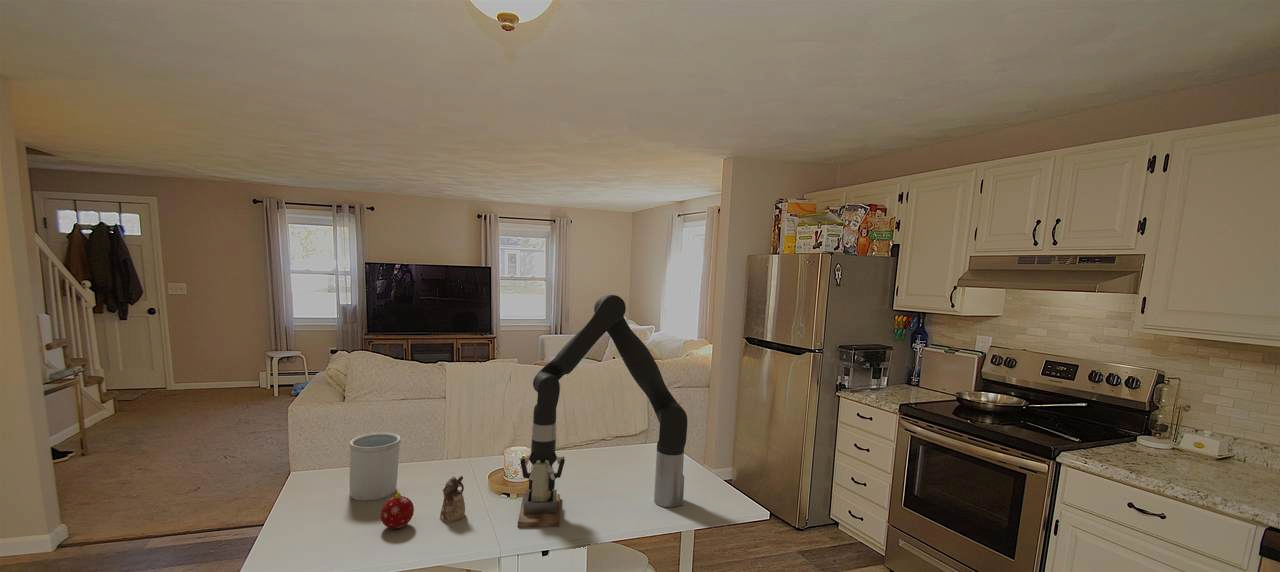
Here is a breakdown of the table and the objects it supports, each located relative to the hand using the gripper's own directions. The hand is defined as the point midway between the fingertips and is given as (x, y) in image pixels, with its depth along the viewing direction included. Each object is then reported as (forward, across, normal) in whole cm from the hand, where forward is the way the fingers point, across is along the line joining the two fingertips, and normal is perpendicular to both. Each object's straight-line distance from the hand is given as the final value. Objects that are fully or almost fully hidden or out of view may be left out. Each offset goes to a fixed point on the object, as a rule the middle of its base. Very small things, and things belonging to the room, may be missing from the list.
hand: (541, 490), depth 158 cm
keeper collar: (+5, 0, 0) cm, 5 cm away
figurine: (+7, +26, +2) cm, 27 cm away
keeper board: (+7, 0, 0) cm, 7 cm away
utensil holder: (+7, +55, -16) cm, 58 cm away
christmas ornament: (+7, +40, +8) cm, 41 cm away
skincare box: (+3, 0, 0) cm, 3 cm away
